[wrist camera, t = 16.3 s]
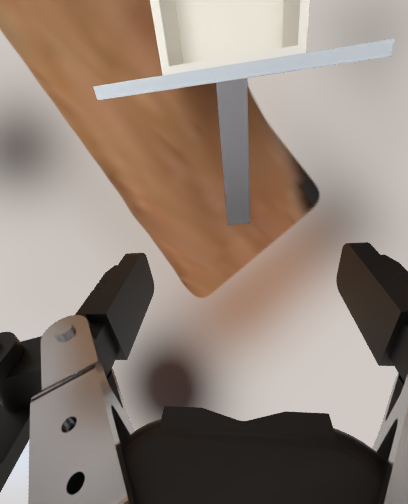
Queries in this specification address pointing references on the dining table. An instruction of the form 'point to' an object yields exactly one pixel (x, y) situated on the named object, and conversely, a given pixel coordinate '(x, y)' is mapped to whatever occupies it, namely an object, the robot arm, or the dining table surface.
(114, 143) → the dining table surface
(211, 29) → the carton
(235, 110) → the square plate with stem
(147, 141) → the dining table surface
